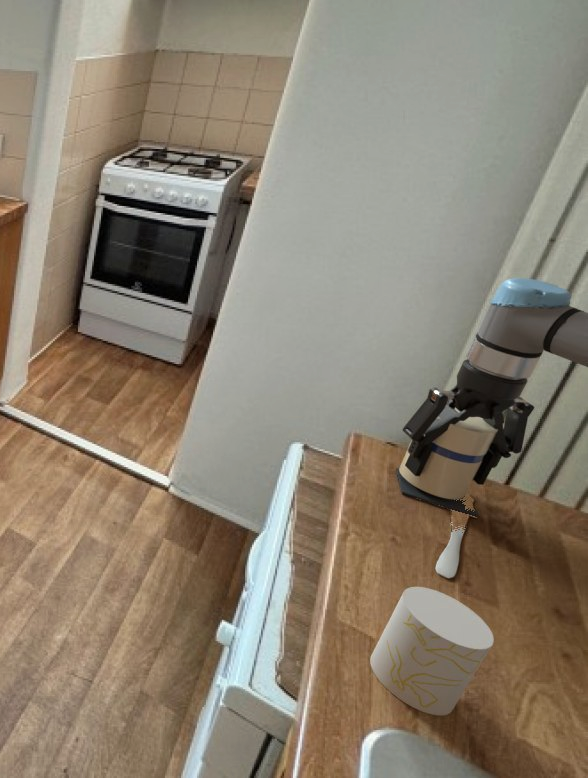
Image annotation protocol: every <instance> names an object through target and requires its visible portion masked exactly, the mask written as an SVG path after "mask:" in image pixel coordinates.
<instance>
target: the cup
mask: <svg viewBox="0 0 588 778" xmlns="http://www.w3.org/2000/svg"><path fill="white" fill-rule="evenodd" d="M494 640H495V639H494V634H493V632H492V630H491V629H490V627H489V626H488V624H487V623H486V622H485V621H484V620H483V618H482V617H480V616H479V615H478V614H477V613H476V612H475V611H473V610H472V609H471V608H470V607H468V606H467V605H465V604H463V603H462V602H461V601H459V600H457V599H455V598H454V597H452V596H450V595H447V594H446V593H443V592H441V591H439V590H435V589H432V588H428V587H424V586H411V587H407V588H406V589H404V591H403V592H402V593H401V596H400V598H399V600H398V602H397V604H396V606H395V608H394V610H393V612H392V614H391V615H390V618H389V620H388V622H387V623H386V626H385V628H384V629H383V631H382V633H381V636H380V637H379V639H378V642H377V644H376V646H375V647H374V650H373V652H372V653H371V656H370V658H369V659H370V660H369V661H370V667H371V670H372V672H373V674H374V675H375V677H376V678H377V680H378V681H379V682H380V683H381V685H382V686H383V687H384V688H386V690H387V691H388V692H390V693H391V694H392V695H393V696H395V697H396V698H397V699H399V700H400V701H401V702H403V703H404V704H406V705H407V706H410V707H411V708H414V709H416V710H417V711H420V712H422V713H424V714H428V715H433V716H447V715H449V714H451V713H452V712H453V710H454V709H455V707H456V705H458V704H457V703H458V702H459V701H460V699H461V697H462V695H463V694H464V693H465V691H466V689H467V688H468V686H469V684H470V682H471V681H472V679H473V678H474V676H475V674H476V673H477V671H478V669H479V668H480V666H481V664H482V662H483V661H484V659H485V658H486V656H487V654H488V653H489V651H490V650H491V648H492V646H493V645H494V642H495V641H494Z"/></svg>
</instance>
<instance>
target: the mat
mask: <svg viewBox="0 0 588 778" xmlns="http://www.w3.org/2000/svg"><path fill="white" fill-rule="evenodd" d="M396 471H397V473H396V476H397V475H398V477H397V480H398V479H399V481H398V485H399V484H400V485H399V489H400V488H401V489H400V493H402V494H401V495H404V494H405V495H404V496H407V497H410V498H413V497H414V498H413V499H415V498H418V499H421V500H423V501H422V502H424V501H426V502H425V503H427V502H430V503H433V504H436V505H440V506H443V507H445V508H448V509H452V510H455V511H458V512H462V513H465V514H469V515H472V516H475V517H478V518H479V515H478V512H477V510H476V511H474V510H472V511H471V509H470V510H468V509H469V508H468V509H466V510H465V506H466V505H464V504H462V503H463V502H465V501H466V500H465V501H463V500H461V501H460V499H459V500H457V499H455V500H454V499H446V498H442V497H438V496H435V495H432V494H430V493H427V492H425V491H423V490H421V489H419V488H417V487H415V486H414V485H412V484H411V483H409V482H408V481H407V480H406V479H405V478H404V477H403V476H402V475H401V473H400V471H399V468H398V467H395V472H396ZM463 498H464V497H463ZM463 498H461V499H463ZM418 499H417V500H418ZM421 500H420V501H421ZM456 500H457V501H456ZM462 501H463V502H462ZM430 503H429V504H430ZM433 504H432V505H433ZM436 505H435V506H436ZM445 508H444V509H445ZM448 509H447V510H448ZM467 510H468V511H467ZM473 511H474V512H473ZM476 512H477V513H476Z"/></svg>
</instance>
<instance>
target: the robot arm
mask: <svg viewBox="0 0 588 778" xmlns="http://www.w3.org/2000/svg"><path fill="white" fill-rule="evenodd" d="M571 299H572V294H571V293H570V291H569V290H567V289H565V288H563V287H560V286H558V285H556V284H554V283H550V282H546V281H543V280H538V279H532V278H527V277H526V278H525V277H524V278H523V277H514V278H508V279H506V280H504V281H502V282H501V284H500V285H499V288H498V289H497V291H496V292H495V294H494V296H493V298H492V299H491V300H490V301H489V306H488V307H487V310H486V312H485V315H484V317H483V319H482V322H481V324H480V326H479V328H478V330H477V333H476V334H475V336H474V339H473V340H472V343H471V345H470V347H469V349H468V350H467V354H466V359H464V360H463V361H462V363H461V366H460V368H459V370H458V372H457V374H456V385H455V386H453V387H452V388H451V389H450V390H440V389H438V387H434V386H433V387H431V388H430V389H429V390H428V394H427V397H426V399H425V401H423V403H422V404H421V406H419V407H418V409H417V410H416V412H414V414H413V415H412V416H411V418H410V419H409V420H408V421H407V423H406V424H405V425H404V426H403V427H402V432H403V433H404V434H405V435H407V437H408V438H410V439H411V440H412V442H411V441H410V442H411V444H410V443H409V445H410V446H409V445H408V447H409V449H408V448H407V449H408V453H409V454H410V455H409V457H408V460H407V462H406V464H405V466H406V467H407V468H408V469H409V470H410V471H411V472H412V473H413V474H414V475H415V476H420V475H421V473H422V471H423V469H424V467H425V464H426V462H427V460H428V458H429V456H430V454H431V452H432V450H433V448H434V447H433V446H432V445H431V444H430V443H431V442H433V441H434V440H435V439H437V438H438V437H439V436H440V435H442V434H443V433H444V432H446V431H447V430H448V428H449V426H450V424H456V423H458V422H459V421H465V420H466V419H467V418H469V417H480V418H483V420H484V421H485V422H486V423H488V424H489V425H490V426H491V427H493V428H494V429H498V432H497V434H496V436H495V438H494V439H493V441H492V443H491V445H490V447H489V449H488V451H487V453H486V455H485V457H484V459H483V461H482V463H481V465H480V467H479V469H478V471H477V473H476V475H475V477H474V479H473V481H474V482H475V483H476V484H477V485H481V486H484V484H485V482H486V480H487V479H488V477H489V475H490V472H491V471H492V469H495V468H496V467H497V466H498V465H499V463H500V461H501V459H502V458H504V459H509V458H511V457H512V453H513V454H521V452H522V451H523V445H524V440H525V436H526V430H527V425H528V419H529V416H530V415H531V414H532V412H533V411H534V410H535V406H534V404H531V403H530V402H528V401H527V400H526V399H524V398H522V397H521V395H522V393H523V392H524V389H525V387H526V385H527V384H528V379H527V378H531V376H532V374H533V372H534V370H535V368H536V366H537V364H538V362H539V360H540V358H541V356H542V355H543V353H544V351H545V352H547V353H549V354H552V355H556V357H560V358H563V359H565V360H567V361H570V362H572V363H576V364H578V365H581V366H583V367H586V368H588V312H586V311H585V310H581V309H578V308H576V307H574V306H571ZM455 407H456V409H457V410H459V411H460V413H458V412H457V411H456V410H455ZM504 411H506V412H505V413H506V414H505V419H504ZM437 417H439V418H440V419H436V418H437ZM424 434H425V436H424Z"/></svg>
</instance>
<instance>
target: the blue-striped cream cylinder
mask: <svg viewBox="0 0 588 778" xmlns="http://www.w3.org/2000/svg"><path fill="white" fill-rule="evenodd" d="M455 410H456V411H457V412H458V413H460V411H459V410H457V409H456V407H455ZM436 419H440V418H439V417H437V418H436ZM497 432H498V429H494V428H493V427H491V426H490V425H489V424H488V423H486V422H485V421H484V420H483V418H480V417H469V418H467V419H466V420H465V421H459V422H458V423H456V424H450V426H449V428H448V430H447V431H446V432H444V433H443V434H442V435H440V436H439V437H438V438H437V439H435V440H434V441H433V442H431V443H430V444H431V445H432V446H433V447H434V448H433V450H432V452H431V454H430V456H429V458H428V460H427V462H426V464H425V467H424V469H423V471H422V473H421V475H420V476H415V475H414V474H413V473H412V472H411V471H410V470H409V469H408V468H407V467H406V466H405V464H406V462H407V460H408V457H409V455H410V454H409V453H408V449H409V446H410V444H411V442H412V439H411V440H410V442H409V444H408V447H407V448H406V451H405V454H404V455H403V458H402V460H401V463H400V465H399V468H398V469H399V471H400V473H401V475H402V476H403V477H404V478H405V479H406V480H407V481H408V482H409V483H411V484H412V485H414V486H415V487H417V488H419V489H421V490H423V491H425V492H427V493H430V494H432V495H435V496H438V497H442V498H446V499H461V498H463V497H465V495H466V493H467V491H468V492H469V489H470V487H471V485H472V483H473V481H474V480H473V479H474V477H475V475H476V473H477V471H478V469H479V467H480V465H481V463H482V461H483V459H484V457H485V455H486V453H487V451H488V449H489V447H490V445H491V443H492V441H493V439H494V438H495V436H496V434H497ZM424 436H425V434H424Z"/></svg>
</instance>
